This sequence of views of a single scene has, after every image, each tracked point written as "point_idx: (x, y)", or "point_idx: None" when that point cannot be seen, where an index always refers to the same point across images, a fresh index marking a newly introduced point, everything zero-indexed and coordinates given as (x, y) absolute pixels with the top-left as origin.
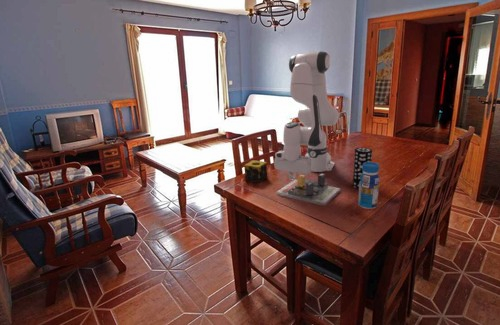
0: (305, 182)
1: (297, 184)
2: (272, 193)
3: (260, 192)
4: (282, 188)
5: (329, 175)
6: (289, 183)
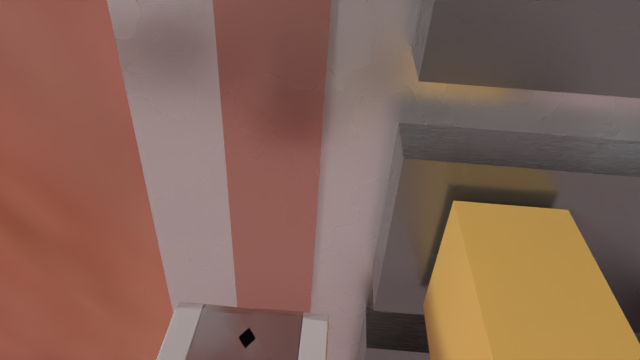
0: (553, 41)
1: (326, 64)
2: (136, 341)
3: (9, 356)
4: (181, 298)
5: None
6: (132, 80)
